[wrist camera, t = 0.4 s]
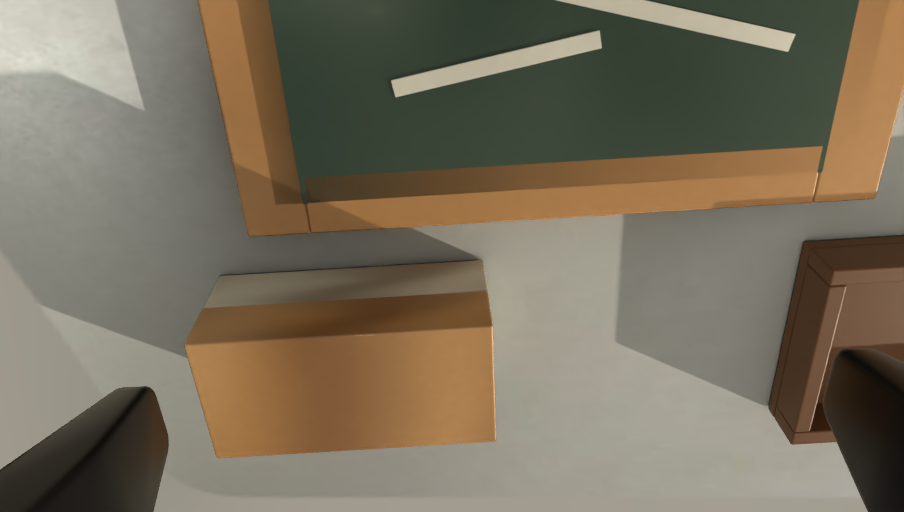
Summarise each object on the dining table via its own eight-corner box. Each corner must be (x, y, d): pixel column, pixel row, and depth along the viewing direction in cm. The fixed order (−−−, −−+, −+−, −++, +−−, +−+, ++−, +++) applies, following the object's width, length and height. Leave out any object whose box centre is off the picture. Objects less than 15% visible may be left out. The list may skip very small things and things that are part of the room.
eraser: (483, 259, 24) (492, 326, 20) (487, 365, 26) (496, 442, 22) (219, 275, 24) (182, 344, 20) (245, 380, 26) (216, 459, 22)
